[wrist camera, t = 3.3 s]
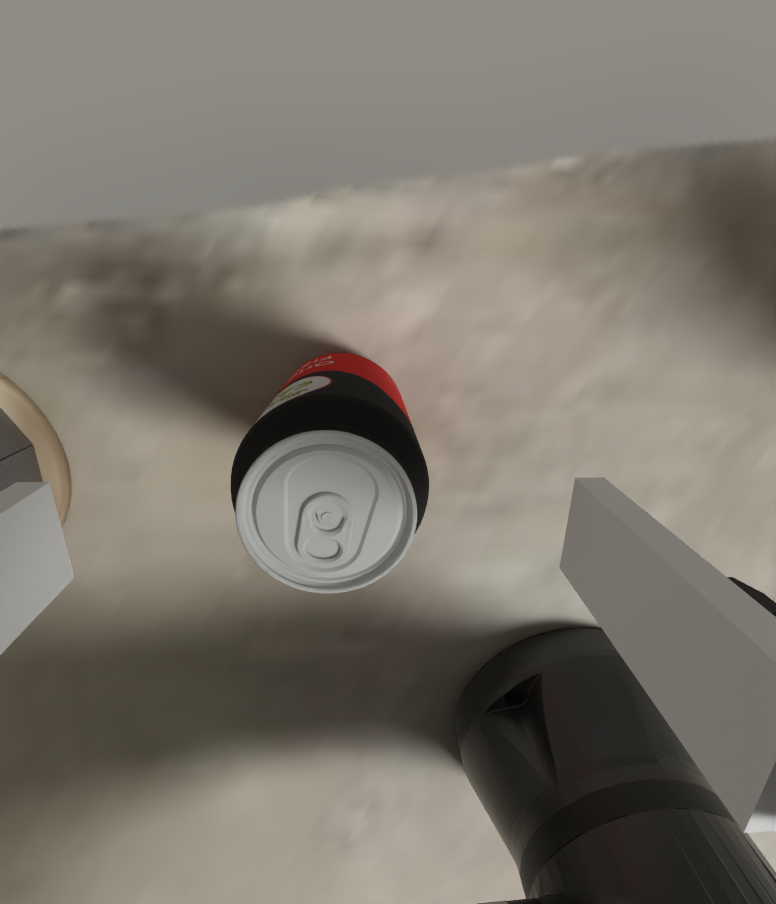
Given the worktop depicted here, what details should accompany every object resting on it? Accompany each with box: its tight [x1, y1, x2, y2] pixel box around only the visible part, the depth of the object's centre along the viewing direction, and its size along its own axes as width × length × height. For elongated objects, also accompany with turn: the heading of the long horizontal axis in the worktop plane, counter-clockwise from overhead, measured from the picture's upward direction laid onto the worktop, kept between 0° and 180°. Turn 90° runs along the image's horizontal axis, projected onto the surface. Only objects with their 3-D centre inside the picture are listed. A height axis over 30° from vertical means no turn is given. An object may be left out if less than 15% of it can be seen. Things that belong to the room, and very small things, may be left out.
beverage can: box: [231, 353, 429, 593], centre depth 19 cm, size 6×6×12 cm
